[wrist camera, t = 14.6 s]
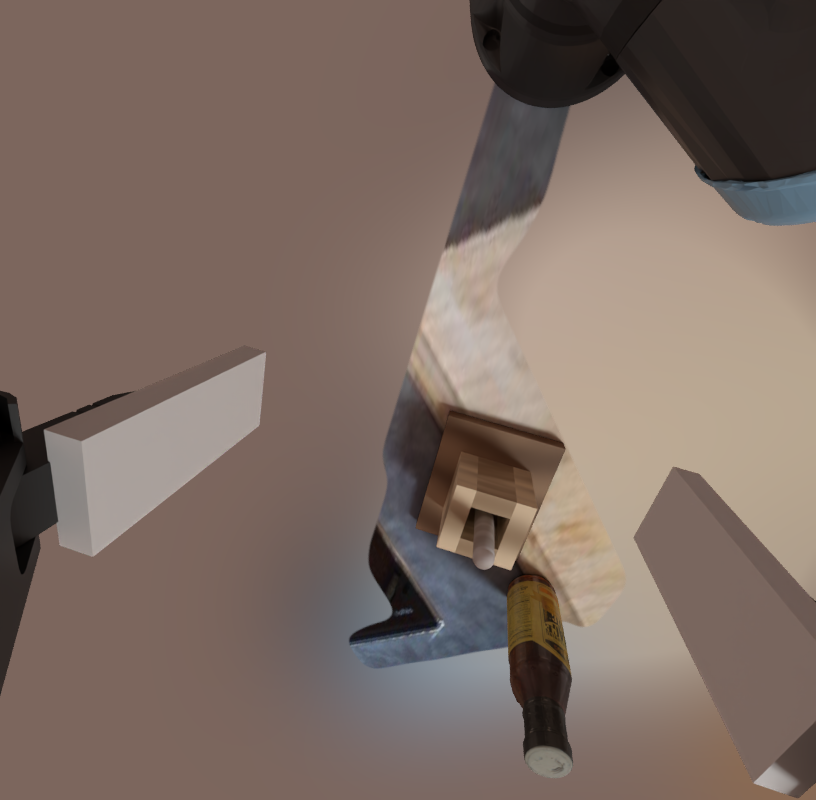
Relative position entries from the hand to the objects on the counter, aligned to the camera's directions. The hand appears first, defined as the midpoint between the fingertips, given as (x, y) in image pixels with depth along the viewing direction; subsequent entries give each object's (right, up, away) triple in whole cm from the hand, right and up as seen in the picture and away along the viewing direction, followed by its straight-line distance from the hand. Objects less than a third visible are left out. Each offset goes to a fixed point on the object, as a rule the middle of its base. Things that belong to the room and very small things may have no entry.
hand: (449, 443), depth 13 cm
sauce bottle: (+15, -23, +41) cm, 49 cm away
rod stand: (+8, -9, +36) cm, 38 cm away
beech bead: (+8, -9, +35) cm, 37 cm away
